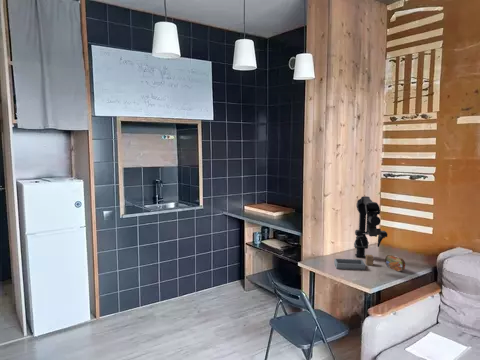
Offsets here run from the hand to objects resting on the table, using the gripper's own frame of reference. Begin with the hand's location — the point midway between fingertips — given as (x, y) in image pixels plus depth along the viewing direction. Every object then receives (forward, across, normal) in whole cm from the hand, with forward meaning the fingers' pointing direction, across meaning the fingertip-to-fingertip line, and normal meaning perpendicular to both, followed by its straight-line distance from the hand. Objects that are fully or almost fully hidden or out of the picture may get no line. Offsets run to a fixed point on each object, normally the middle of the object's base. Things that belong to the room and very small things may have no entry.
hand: (370, 246), depth 234 cm
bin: (+14, -12, +2) cm, 19 cm away
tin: (+15, +16, +2) cm, 22 cm away
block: (+14, +2, +10) cm, 18 cm away
